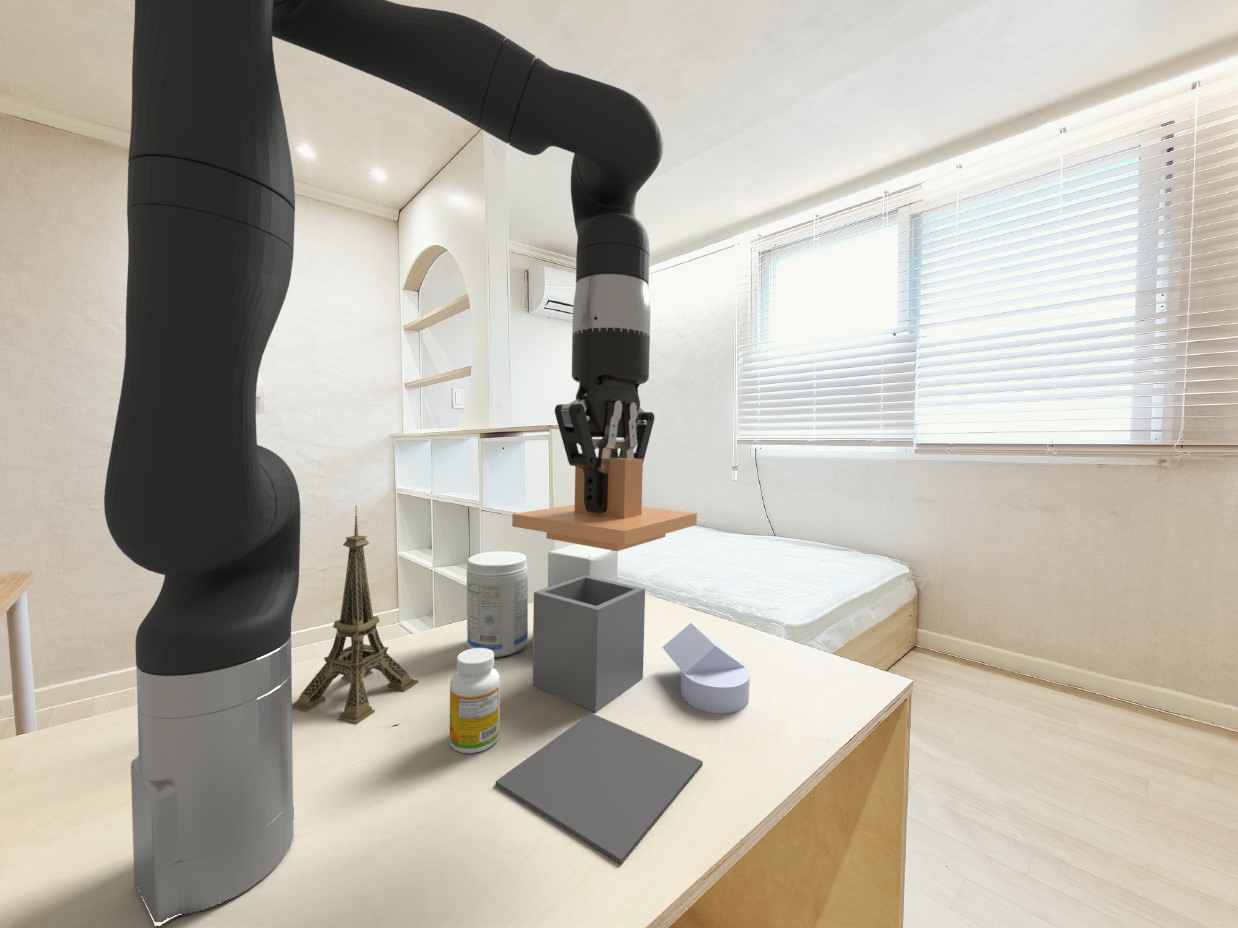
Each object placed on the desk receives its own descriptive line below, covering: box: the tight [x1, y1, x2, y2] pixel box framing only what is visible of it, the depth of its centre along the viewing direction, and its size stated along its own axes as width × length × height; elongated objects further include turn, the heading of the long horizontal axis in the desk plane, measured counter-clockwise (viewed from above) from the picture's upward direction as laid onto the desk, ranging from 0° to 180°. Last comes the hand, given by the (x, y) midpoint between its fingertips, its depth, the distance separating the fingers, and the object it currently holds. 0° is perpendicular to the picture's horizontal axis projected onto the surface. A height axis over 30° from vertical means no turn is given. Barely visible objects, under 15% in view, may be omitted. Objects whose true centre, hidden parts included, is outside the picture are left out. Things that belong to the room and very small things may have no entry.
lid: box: [511, 456, 698, 552], centre depth 48 cm, size 13×13×8 cm
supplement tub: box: [466, 550, 529, 658], centre depth 79 cm, size 10×10×15 cm
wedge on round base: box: [661, 622, 751, 714], centre depth 68 cm, size 9×7×13 cm
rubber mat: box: [495, 712, 703, 865], centre depth 50 cm, size 15×15×1 cm
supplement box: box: [547, 543, 619, 588], centre depth 84 cm, size 9×9×15 cm
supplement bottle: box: [449, 648, 501, 754], centre depth 55 cm, size 5×5×10 cm
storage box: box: [532, 575, 646, 713], centre depth 68 cm, size 11×11×13 cm
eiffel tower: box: [292, 504, 419, 725], centre depth 63 cm, size 11×11×25 cm
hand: (607, 509), depth 48 cm, fingers closed on lid, 3 cm apart
